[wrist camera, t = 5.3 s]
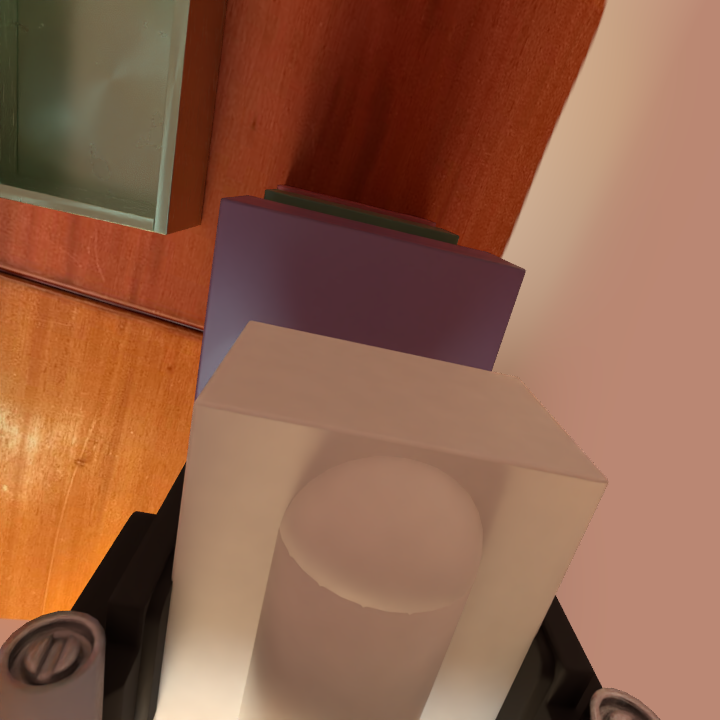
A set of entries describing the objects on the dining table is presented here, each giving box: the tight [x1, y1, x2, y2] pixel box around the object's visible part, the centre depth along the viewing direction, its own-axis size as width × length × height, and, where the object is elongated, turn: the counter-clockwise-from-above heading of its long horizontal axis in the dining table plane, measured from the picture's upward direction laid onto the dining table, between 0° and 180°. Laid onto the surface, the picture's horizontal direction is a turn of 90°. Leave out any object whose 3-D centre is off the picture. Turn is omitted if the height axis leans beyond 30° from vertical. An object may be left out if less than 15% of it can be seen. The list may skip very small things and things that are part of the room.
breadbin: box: [0, 0, 228, 235], centre depth 30 cm, size 17×14×8 cm
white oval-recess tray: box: [153, 321, 608, 720], centre depth 10 cm, size 9×6×5 cm, turn 167°
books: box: [194, 185, 525, 402], centre depth 29 cm, size 14×11×22 cm
